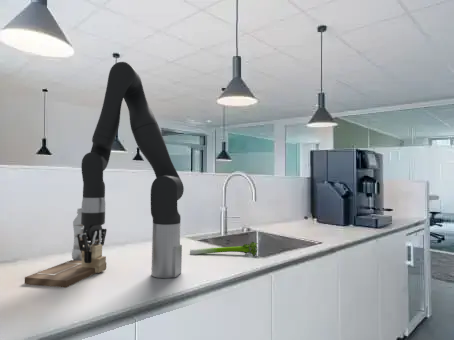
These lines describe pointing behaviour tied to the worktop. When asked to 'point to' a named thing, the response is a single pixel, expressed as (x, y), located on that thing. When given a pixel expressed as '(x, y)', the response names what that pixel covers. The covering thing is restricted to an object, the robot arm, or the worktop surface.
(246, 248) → the leek
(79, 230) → the plastic bottle
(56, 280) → the board
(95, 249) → the stepped wooden block
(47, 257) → the worktop surface
